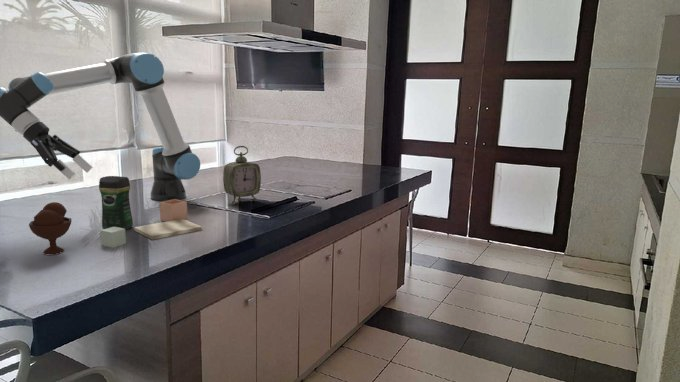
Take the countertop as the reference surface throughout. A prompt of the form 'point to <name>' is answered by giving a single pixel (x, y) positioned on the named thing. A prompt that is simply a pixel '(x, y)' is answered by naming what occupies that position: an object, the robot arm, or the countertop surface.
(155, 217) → the countertop surface
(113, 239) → the grey-green block
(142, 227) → the birch board
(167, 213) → the terracotta cup
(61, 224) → the ice cream bowl
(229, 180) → the tabletop clock
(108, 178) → the coffee jar
